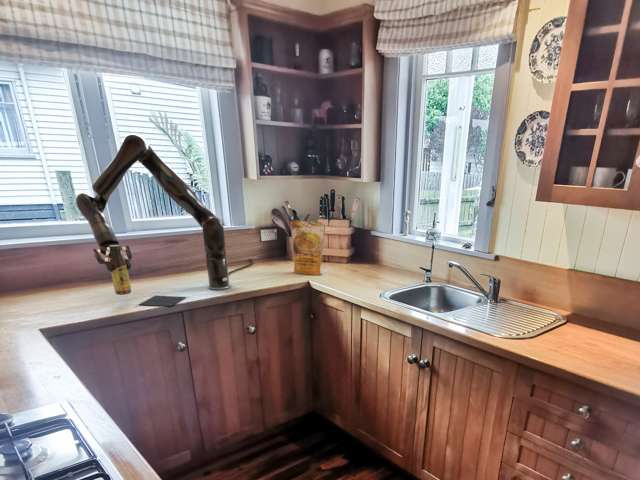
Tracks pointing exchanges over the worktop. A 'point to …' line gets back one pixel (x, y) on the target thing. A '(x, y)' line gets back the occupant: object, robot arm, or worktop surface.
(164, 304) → the mat
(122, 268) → the sauce bottle
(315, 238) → the pancake mix bag
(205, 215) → the robot arm
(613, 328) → the worktop surface
